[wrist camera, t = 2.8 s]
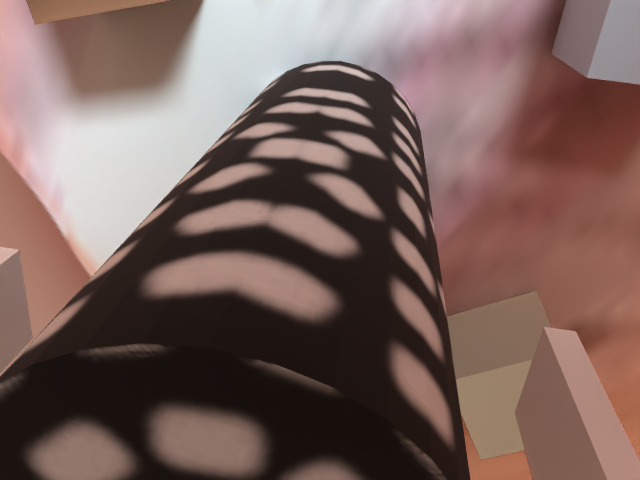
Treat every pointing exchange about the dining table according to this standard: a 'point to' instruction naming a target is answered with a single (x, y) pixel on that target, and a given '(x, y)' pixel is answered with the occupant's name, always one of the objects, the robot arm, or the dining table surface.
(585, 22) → the dusty blue block
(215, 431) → the spotted tube
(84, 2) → the walnut block
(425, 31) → the dining table surface
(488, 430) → the sage block
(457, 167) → the dining table surface
